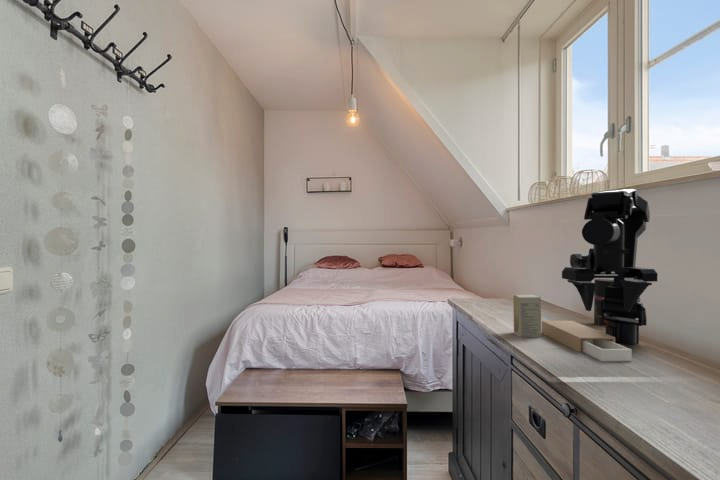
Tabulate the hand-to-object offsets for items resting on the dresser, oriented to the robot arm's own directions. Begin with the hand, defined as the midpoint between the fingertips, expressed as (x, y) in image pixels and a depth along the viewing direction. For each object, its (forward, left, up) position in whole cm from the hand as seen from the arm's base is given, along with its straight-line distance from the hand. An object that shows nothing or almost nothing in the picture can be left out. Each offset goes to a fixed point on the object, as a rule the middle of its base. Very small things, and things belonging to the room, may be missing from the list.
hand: (607, 310), depth 77 cm
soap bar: (0, -9, -11) cm, 14 cm away
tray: (0, -5, -11) cm, 12 cm away
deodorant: (-23, -30, -12) cm, 40 cm away
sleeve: (0, -11, -12) cm, 16 cm away
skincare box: (+10, -17, -12) cm, 23 cm away
